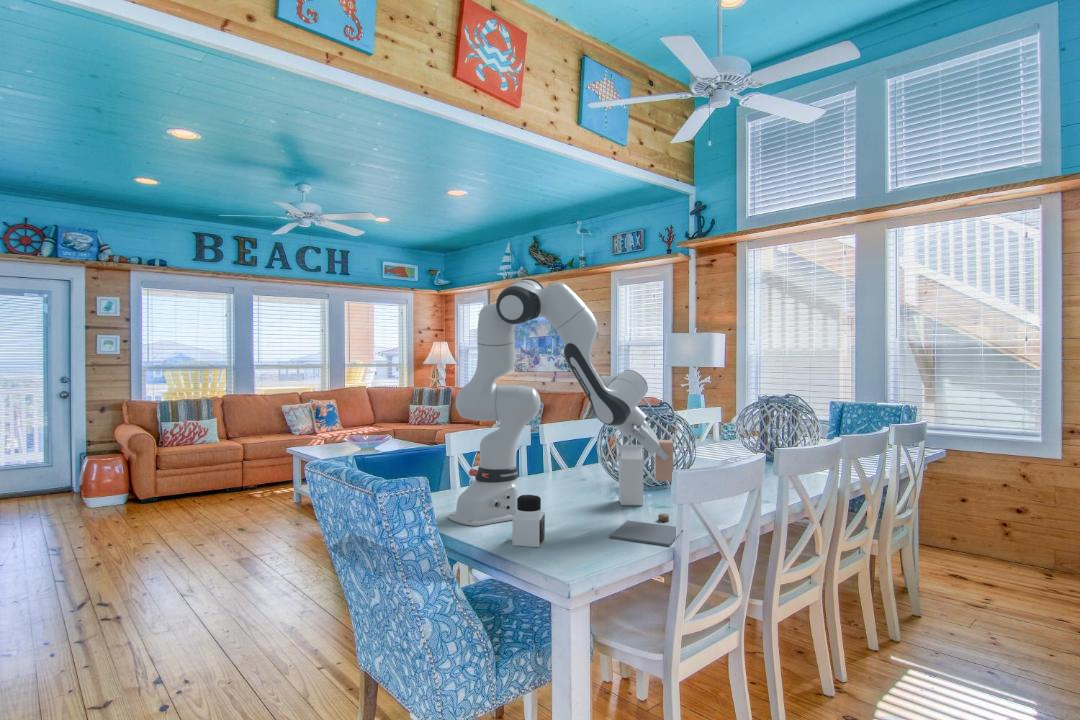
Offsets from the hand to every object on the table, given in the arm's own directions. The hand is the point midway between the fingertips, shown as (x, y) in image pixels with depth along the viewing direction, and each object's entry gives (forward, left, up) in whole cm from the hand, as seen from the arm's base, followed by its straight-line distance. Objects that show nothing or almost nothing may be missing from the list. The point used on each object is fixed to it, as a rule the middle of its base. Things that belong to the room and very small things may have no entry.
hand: (665, 456), depth 173 cm
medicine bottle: (-43, +13, -19) cm, 49 cm away
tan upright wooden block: (0, +1, -7) cm, 7 cm away
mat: (-15, -4, -19) cm, 24 cm away
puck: (-1, 0, -19) cm, 19 cm away
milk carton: (+9, +19, -19) cm, 28 cm away
